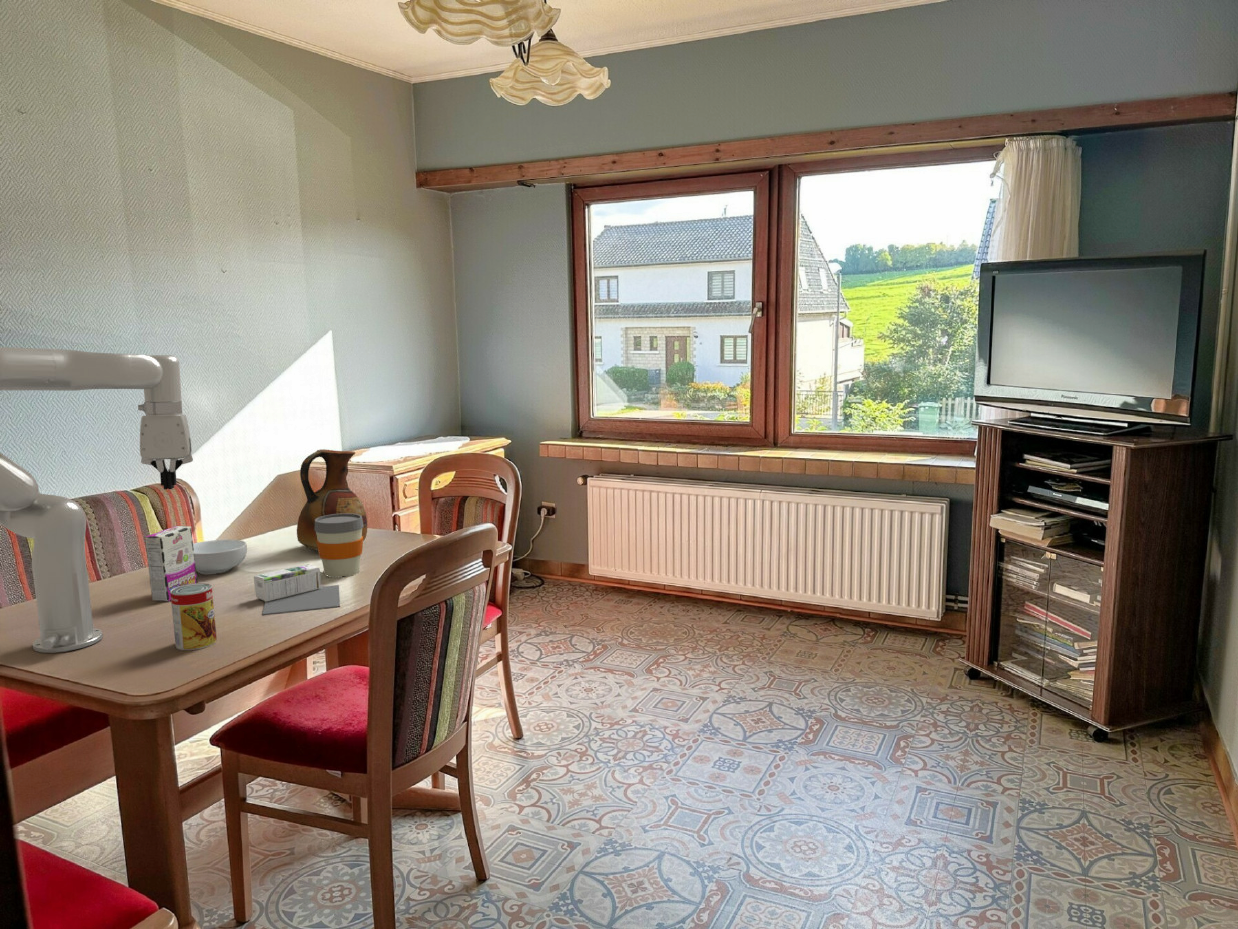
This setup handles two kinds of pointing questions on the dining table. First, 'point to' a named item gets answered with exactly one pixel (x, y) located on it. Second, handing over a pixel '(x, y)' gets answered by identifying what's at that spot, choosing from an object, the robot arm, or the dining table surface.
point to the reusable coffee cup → (340, 543)
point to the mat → (305, 601)
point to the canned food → (193, 616)
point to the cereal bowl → (218, 555)
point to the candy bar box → (170, 561)
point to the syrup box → (287, 582)
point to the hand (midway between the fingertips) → (169, 488)
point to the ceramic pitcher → (327, 495)
